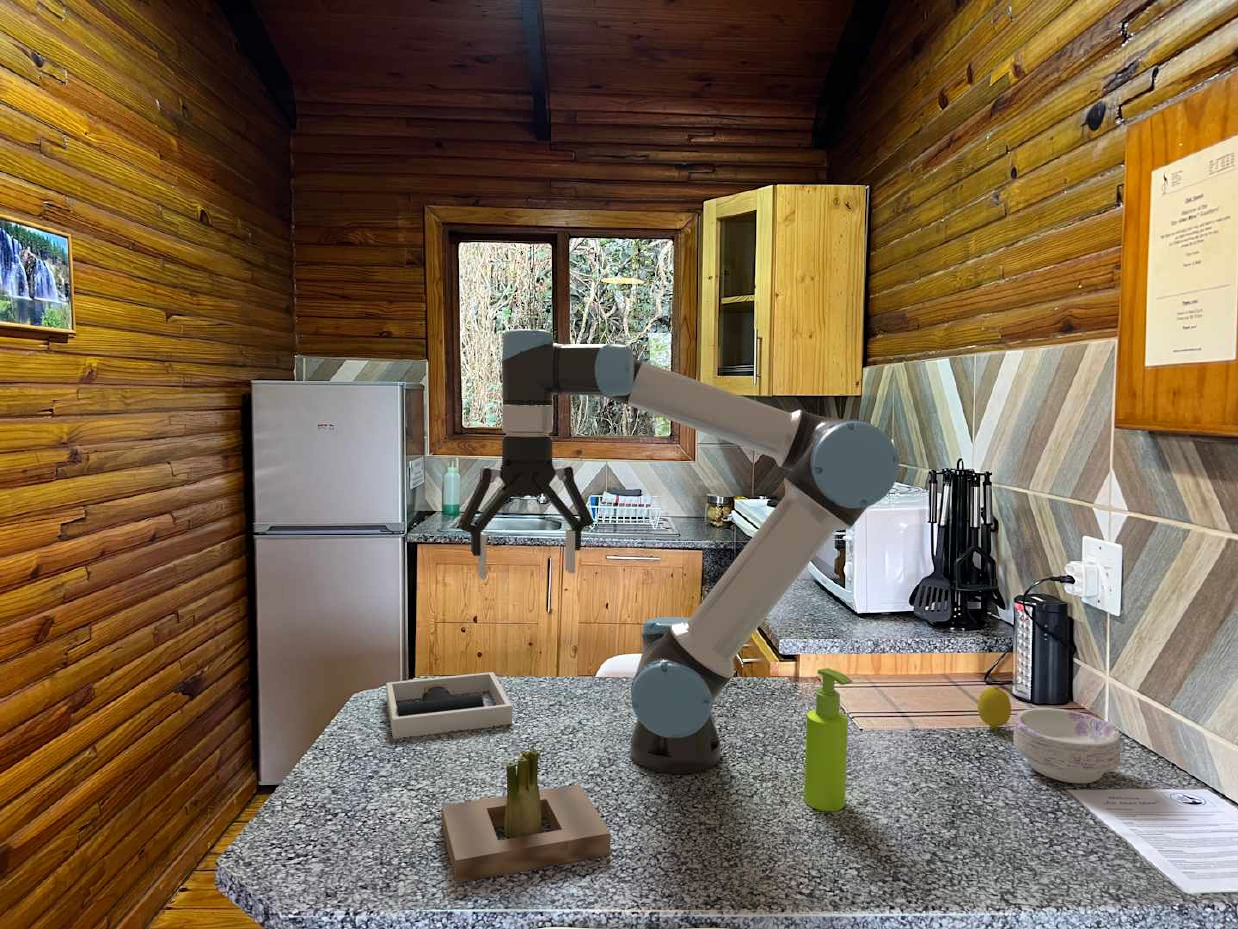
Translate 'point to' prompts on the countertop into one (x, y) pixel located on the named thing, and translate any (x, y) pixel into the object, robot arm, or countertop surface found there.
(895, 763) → the countertop surface
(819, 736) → the soap dispenser
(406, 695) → the parts tray
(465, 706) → the pipe connector
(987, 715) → the lemon
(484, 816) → the jig block
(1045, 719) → the paper bowls
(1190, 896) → the countertop surface
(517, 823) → the fennel bulb
